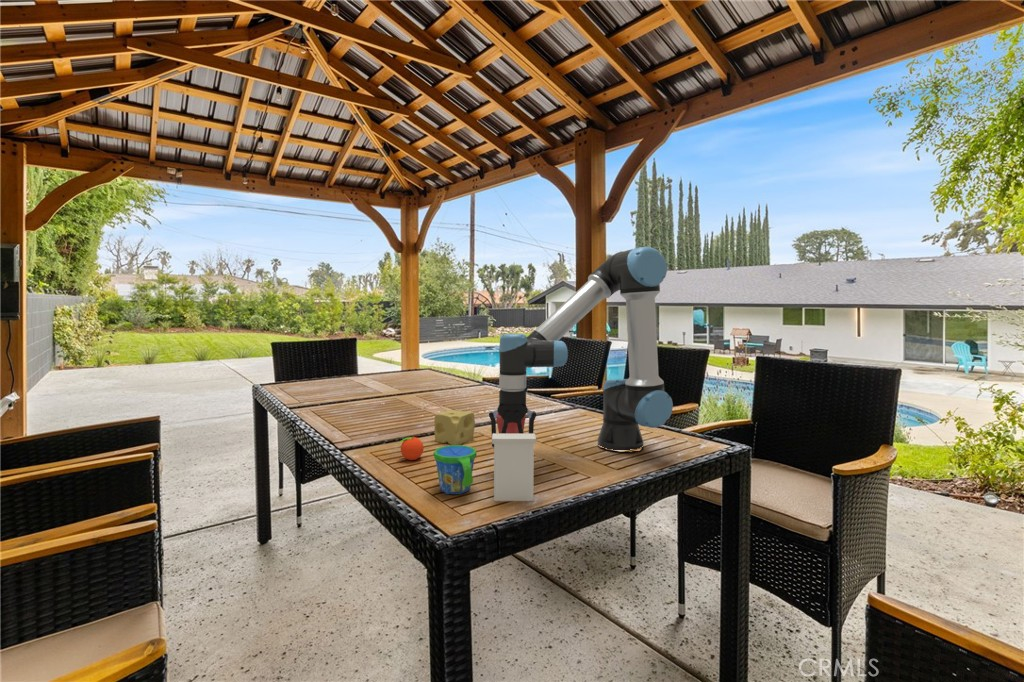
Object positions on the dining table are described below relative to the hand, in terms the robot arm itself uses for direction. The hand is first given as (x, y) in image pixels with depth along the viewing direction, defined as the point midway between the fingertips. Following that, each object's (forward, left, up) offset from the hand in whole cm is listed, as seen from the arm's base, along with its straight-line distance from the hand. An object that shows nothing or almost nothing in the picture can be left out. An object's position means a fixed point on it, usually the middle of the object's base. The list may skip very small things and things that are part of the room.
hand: (512, 471), depth 132 cm
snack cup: (+15, +13, -1) cm, 20 cm away
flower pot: (0, -34, -1) cm, 34 cm away
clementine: (+31, -12, -1) cm, 33 cm away
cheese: (+20, -34, -1) cm, 39 cm away
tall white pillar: (0, +14, 0) cm, 14 cm away
